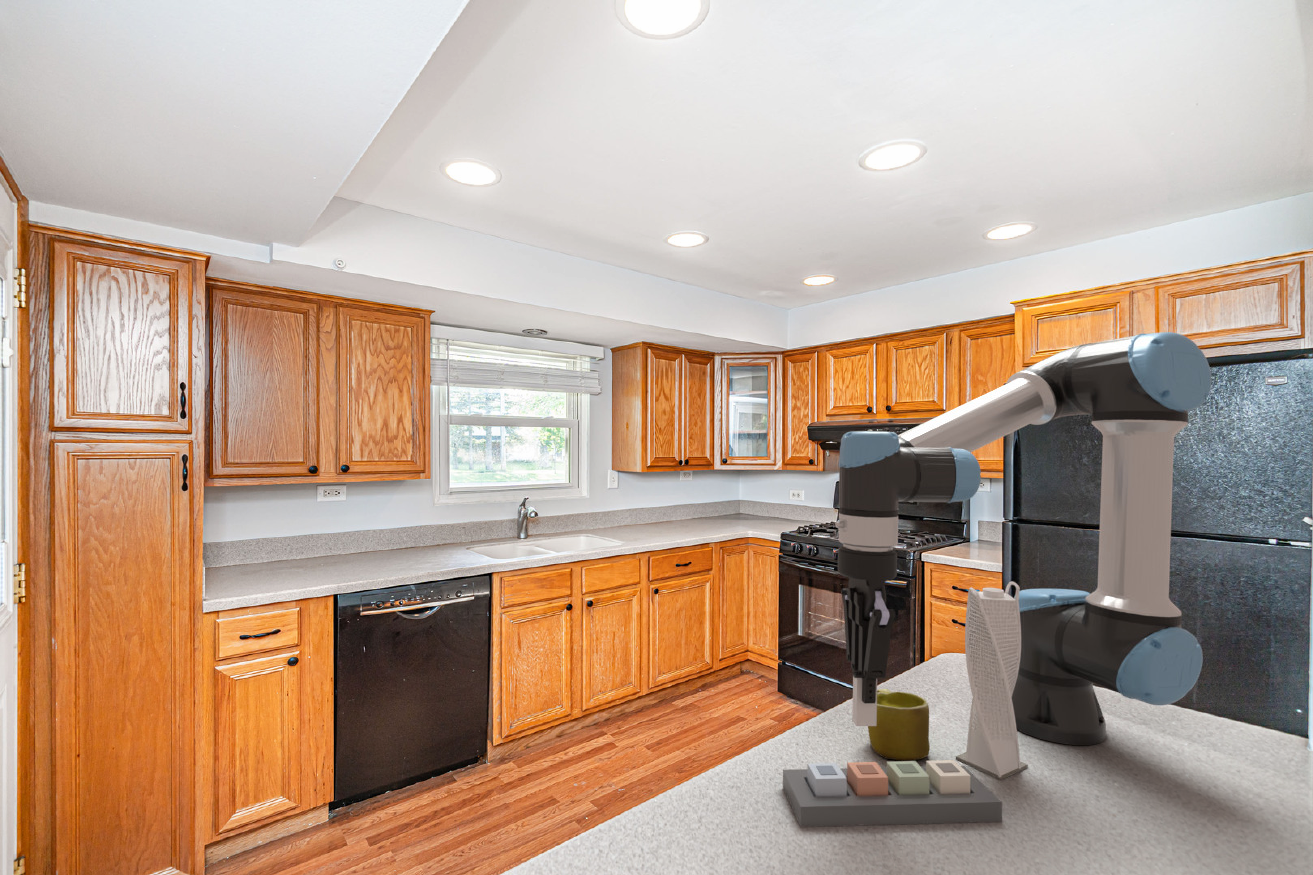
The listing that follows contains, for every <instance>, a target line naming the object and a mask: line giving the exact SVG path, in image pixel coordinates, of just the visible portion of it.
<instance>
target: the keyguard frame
mask: <svg viewBox="0 0 1313 875" xmlns="http://www.w3.org/2000/svg"><path fill="white" fill-rule="evenodd" d="M960 766H961V767H962V768H963V769H964V770H965V771H966V772H967V773H968V774H969V775H970V793H964V794H939V793H938V792H937V791H936V790H935V789H934V788H933V787H932V786H931V784H930V783H929V794H922V795H897V794H896V792H895V791H894V790H893V788H892V787H891V786H890V784H889V783H888V795H879V796H856V795H855V794H854V792H853V791H852V789H851V787H850V786H849V784H848V783H847V796H837V797H814V796H813V794H812V792H811V790H810V788H809V786H808V784H807V768H799V769H796V768H795V769H783V770H782V789H783V791H784V793H785V795H786V797H787V800H788V802H789V804H790V806H791V809H792V811H793V814H794V816H795V817H796V820H797V822H798V825H799V827H800V828H808V827H811V828H813V827H847V826H848V827H849V826H850V827H851V826H877V825H878V826H879V825H880V826H882V825H884V826H885V825H886V826H887V825H888V826H889V825H919V824H920V825H921V824H922V825H923V824H961V823H962V824H963V823H964V824H965V823H969V824H970V823H991V822H992V823H998V822H999V823H1002V822H1003V801H1002V800H1000V798H998V797H997V795H995V794H994V793H993V792H992V791H991V790H990V789H989V787H987V786H986V785H985V784H984V783H983V782H982V781H980V779H978V777H976V775H975V774H973V773H972V772H971V771H970V770H969V769H968V768H967V767H966V766H965V765H960ZM920 767H921V768H922V769H923V770H924V771H925V772H926V766H920ZM880 768H881V769H882V770H883V771H884V773H885V774H886V775H887V766H886V767H880ZM840 769H841V770H842V772H843V773H844V775H845V777H846V778H847V767H846V768H845V767H844V768H842V767H840Z"/></svg>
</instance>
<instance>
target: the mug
mask: <svg viewBox="0 0 1313 875" xmlns="http://www.w3.org/2000/svg"><path fill="white" fill-rule="evenodd" d="M867 729H868V730H867V731H868V736H869V737H868V738H869V741H870V746H871V748H872V749H873V750H874V751H875V753H876V754H877V755H879V756H880V757H882V758H885V759H886V760H894V761H895V760H896V761H916V760H917V761H918V760H922V759H924V758H927V757H928V756H929V754H930V749H931V748H930V740H929V737H930V706H929V702H928V701H927V700H926V699H925V698H924V697H921V696H919V695H918V694H915V693H910V692H905V691H904V692H903V691H891V690H890V689H888V688H879V689H877V724H876V726H867Z"/></svg>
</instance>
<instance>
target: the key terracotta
mask: <svg viewBox="0 0 1313 875" xmlns="http://www.w3.org/2000/svg"><path fill="white" fill-rule="evenodd" d="M846 764H847V765H846V766H847V767H846V768H847V783H848V784H849V786H850V787H851V789H852V791H853V792H854V794H855V795H856V796H879V795H888V777H887V775H886V774H885V773H884V771H883V770H882V769H881V768H882V767H881V766H880V765H879V764H878V763H877V761H859V762H856V761H855V762H854V761H853V762H852V761H851V762H849V761H847V763H846Z"/></svg>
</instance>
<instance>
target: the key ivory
mask: <svg viewBox="0 0 1313 875" xmlns="http://www.w3.org/2000/svg"><path fill="white" fill-rule="evenodd" d="M961 766H962V765H960V764H959V763H958V762H957V761H956V759H952V760H951V759H948V760H947V759H946V760H944V759H943V760H926V761H925V767H926V773H927V774H928V776H929V783H930V784H931V786H932V787H933V788H934V789H935V790H936V791H937V792H938V793H939V794H964V793H970V775H969V774H968V773H967V772H966V771H965V770H964V769H963V768H962V767H961Z"/></svg>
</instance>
